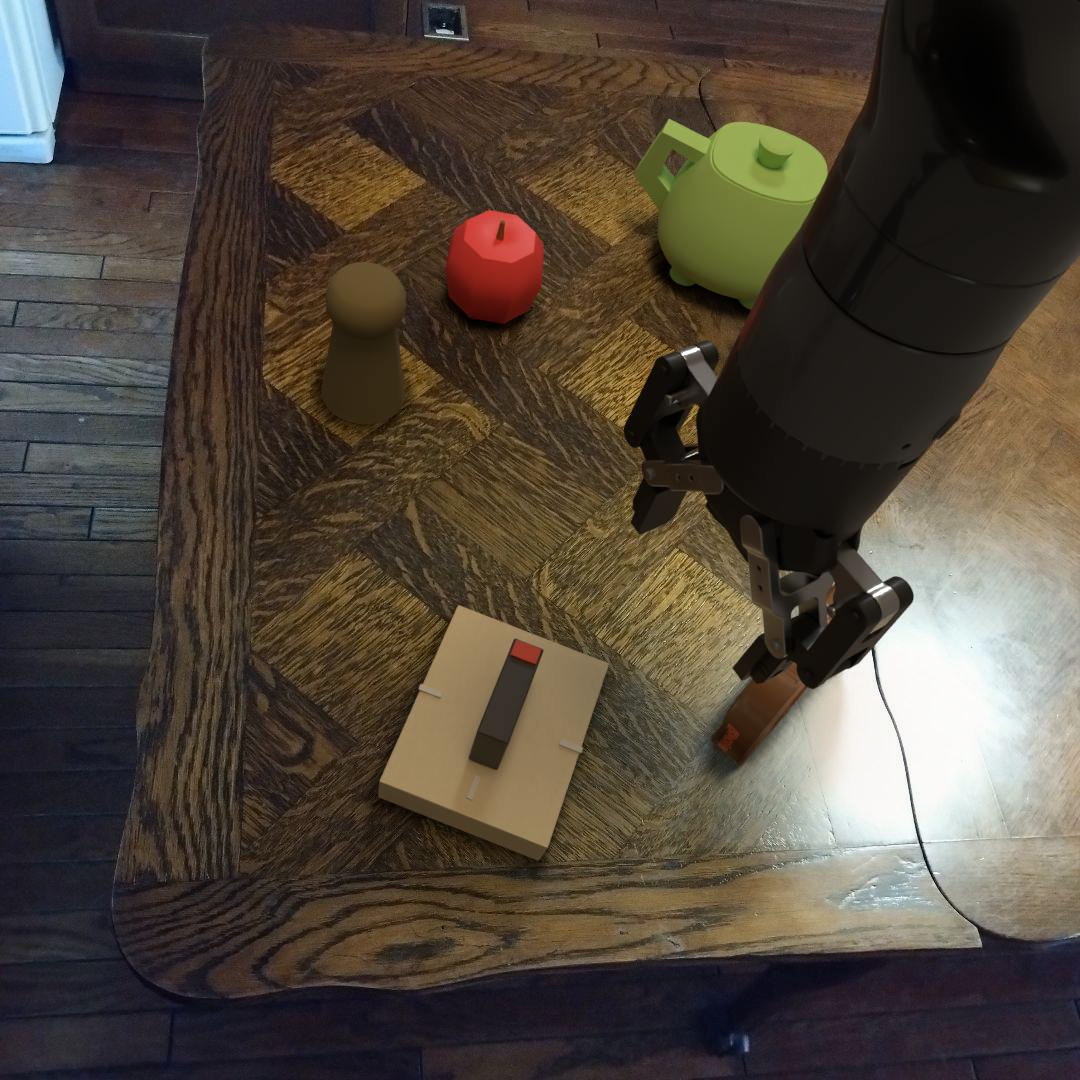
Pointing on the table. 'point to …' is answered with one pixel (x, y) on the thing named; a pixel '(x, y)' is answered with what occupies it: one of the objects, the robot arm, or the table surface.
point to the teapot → (730, 202)
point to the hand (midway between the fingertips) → (699, 593)
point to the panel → (532, 753)
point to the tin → (759, 710)
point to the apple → (494, 266)
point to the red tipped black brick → (505, 704)
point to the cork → (364, 344)
